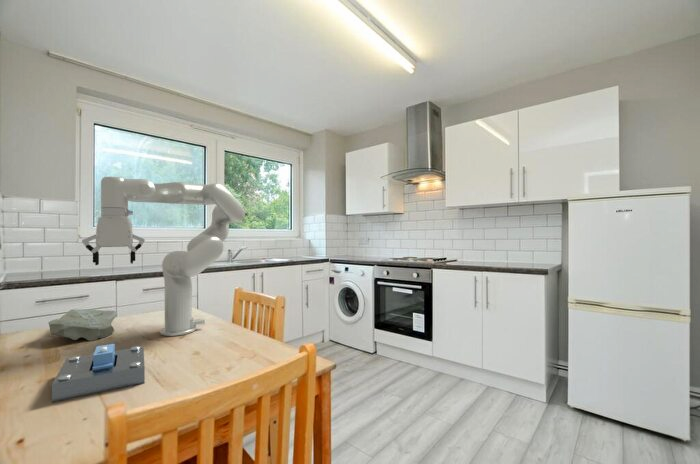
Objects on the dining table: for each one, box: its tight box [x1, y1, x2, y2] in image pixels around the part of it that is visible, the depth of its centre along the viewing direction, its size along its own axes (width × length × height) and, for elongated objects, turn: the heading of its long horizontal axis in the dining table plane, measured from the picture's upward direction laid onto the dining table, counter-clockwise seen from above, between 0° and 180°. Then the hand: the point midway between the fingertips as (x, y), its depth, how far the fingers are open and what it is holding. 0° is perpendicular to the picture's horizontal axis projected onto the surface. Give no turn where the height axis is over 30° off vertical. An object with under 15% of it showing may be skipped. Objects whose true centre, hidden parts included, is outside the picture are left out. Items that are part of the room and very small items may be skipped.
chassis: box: [51, 345, 146, 403], centre depth 88 cm, size 18×18×5 cm
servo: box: [93, 343, 116, 373], centre depth 88 cm, size 4×11×8 cm, turn 32°
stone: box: [47, 309, 118, 342], centre depth 127 cm, size 28×8×20 cm
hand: (114, 264), depth 112 cm, fingers open, 9 cm apart
